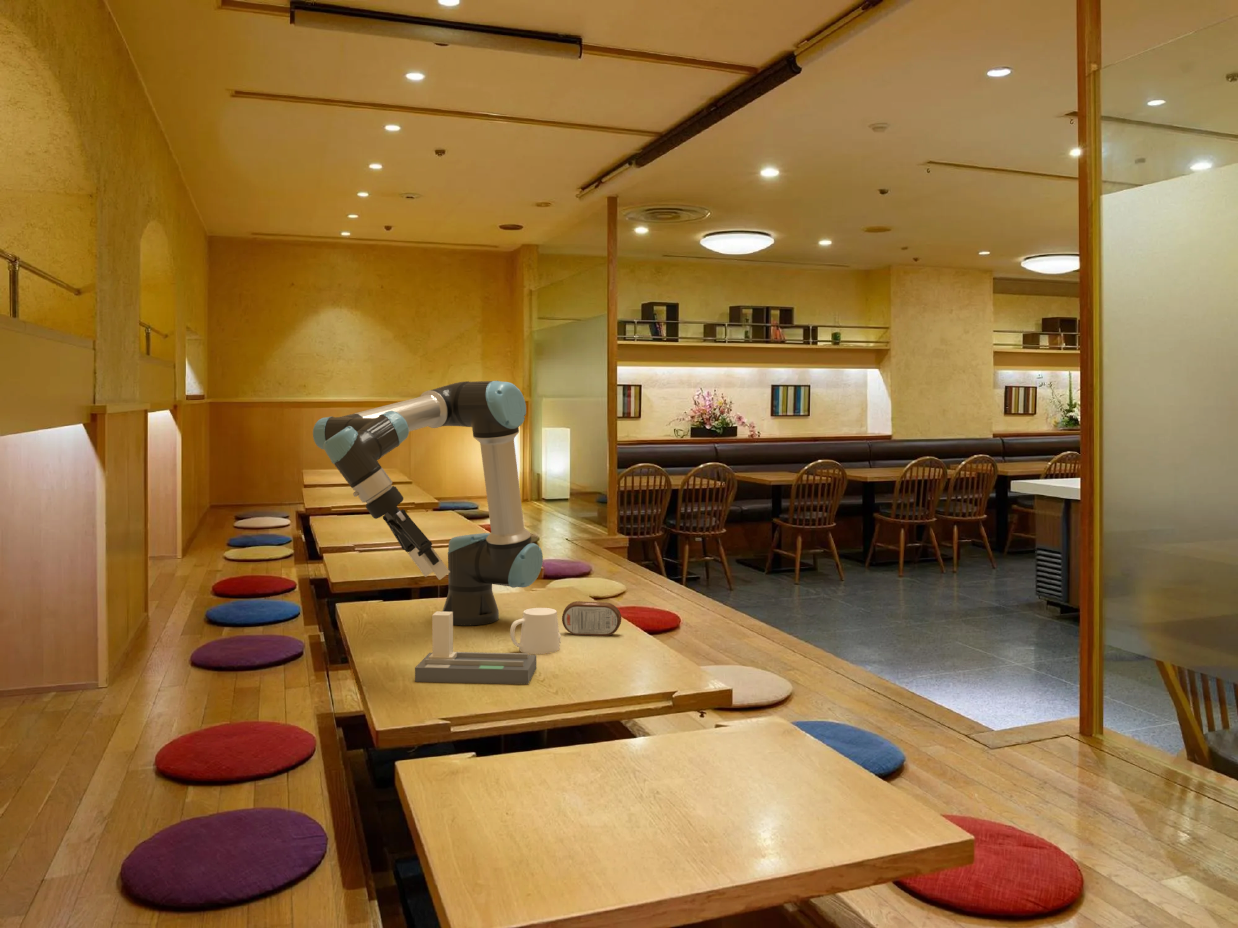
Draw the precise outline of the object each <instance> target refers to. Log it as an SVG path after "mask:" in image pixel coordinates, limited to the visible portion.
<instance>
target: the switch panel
mask: <svg viewBox="0 0 1238 928" xmlns="http://www.w3.org/2000/svg"><path fill="white" fill-rule="evenodd" d="M456 652H457V657H456V658H455V659H429V656H430V655H431V654H432V653H433V651H432V652H429V653H427V655H425V657H423V659H422V660H421V661H420V662H418V664H417V665H416V666H415V667H414V683H416V682H417V683H419V682H420V683H455V684H456V683H457V684H492V685H494V684H499V685H505V684H506V685H510V684H511V685H529V684H530V682H531V679H532V677H533V676H534V674H535V672H536V670H537V654H528V653H522V652H518V653H517V652H482V651H481V652H477V651H474V652H473V651H456ZM529 681H530V682H529ZM528 683H529V684H528Z"/></svg>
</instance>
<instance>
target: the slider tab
mask: <svg viewBox="0 0 1238 928" xmlns="http://www.w3.org/2000/svg"><path fill="white" fill-rule="evenodd" d="M431 616H432V617H431V621H432V633H431V634H432V638H431V639H432V652H433V653H432V652H431V653H432V654H431V655H430V656H429V659H455V658H456V657H457V652H458V651H454V625H453V612H442V611H440V610H439V611H437V610H436V611H435V612H434V613H433V614H432V615H431Z"/></svg>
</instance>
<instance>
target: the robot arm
mask: <svg viewBox="0 0 1238 928" xmlns="http://www.w3.org/2000/svg"><path fill="white" fill-rule="evenodd" d="M526 404H527V403H526V401H525V397H524V395H523V393H522V391H521V390H520V388H518V387H517V386H516V385H515V384H514V383H512V382H510V381H509V382H508V381H500V380H485V381H484V380H483V381H479V380H478V381H469V380H468V381H459V382H454V383H450V384H447V385H443V386H440V387H437V388H434V389H429V390H426V391H423V392H422V393H421V394H420V396H418V397H415V398H411V399H406V400H402V401H399V402H394V403H391V404H386V405H382V406H379V407H378V406H377V407H375V408H370V409H366V410H363V411H359V412H355V413H352V414H347V415H342V416H338V417H337V416H336V417H334V416H326V417H322V418H320V419H318V420H317V421H316V422H315V424H314V426H313V428H312V438H313V442H314V443H315V445H316V447H318V448H319V449H321V450H323V451H324V452H325V453H326V455H327V456H328V458H329V459H330V462H331V463H332V464H333V465H334V466H335V468H336V469H337V470H338V471H339V473H340V474H341V476H342V477H343V478H344V480H345V481H346V482H347V483H348V485H349V486H350V488H351V489H352V490H353V491H354V492H353V493H352V496H354V497H358V499H359V500H360V501H361V502H362V503H366V504H365V509H366V510H367V511H368V512H369V514H370V515H371V517H372V518H373V519H375V520H376V519H379V518H382V519H383V520H384V522H385V523H386V525H387V526H388V527H389V529H390V531H391V533H392V534H393V535H394V537H395V539H396V540H397V542H398V544H399V546H400V547H401V549H402V550H404V551H405V552H406V553H407V554H408V556H409V557H410V558H411V560H412V561H413V563H414V564H415V565H416V567H417V568H418V569H419V570H420V572H421V574H422V575H423V576H424V577H425V578H427V577H428V576H429V575H431V574H432V573H434V575H435V576H436V578H437V579H438V580H440V581H441V580H442V579H443V578H445V577H446V576H447V575H448V579H447V580H448V593H447V596H446V599H445V602H444V606H443V608H442V611H441V612H453V626H454V625H455V626H479V625H480V626H481V625H487V624H491V623H495V622H497V621H498V620H499V616H500V615H499V613H500V611H499V607H498V604H497V601H496V598H495V596H494V592H493V585H496V586H503V587H510V588H513V589H514V588H528V587H530V586H531V585H532V584H533V583H534V582H535V581H536V580H537V578H538V577H539V575H540V573H541V570H542V567H543V560H544V559H543V557H544V556H543V555H544V554H543V550H542V548H541V547H540V545H538V544H537V543H534V542H532V533H531V531H529V530H528V529H526V528H525V524H524V523H525V522H524V517H523V506H522V497H521V488H520V481H519V471H518V464H517V462H518V461H517V453H516V447H515V446H516V445H515V437H517V435H518V434H519V432H520V429H519V427H521V426H522V425H523V424H524V421H525V419H526V418H525V416H526V415H527V405H526ZM426 427H428V428H431V429H439V428H441V427H442V428H443V427H461V428H463V427H465V428H471V430H472V437H473V438H474V439H475V440H477V441H478V442H479V445H480V452H481V460H482V468H483V476H484V484H485V486H484V487H485V493H486V501H487V508H488V516H489V524H490V525H489V526H490V532H487V533H486V532H484V533H483V532H482V533H473V534H465V535H457V536H454V537H452V538H451V539H450V540H448V551H447V565H446V564H445V563H444V562H443V560H442V559H441V557H440V555H438V553H437V551H435V549H434V548H433V542H432V541H430V539H429V538H428V537H427V536H426V535H425V534H424V532H423V531H422V530H421V529H420V528H419V527H418V525H417V524H416V523H415V522H414V521H413V519H411V517H410V515H408V513H407V512H406V510H405V509H404V508H402V509H400V508H398V506H399V505H400V504H401V503H402V502H404V496H403V495H402V493H401V491H399V489H398V488H397V486H394V485H392V484H393V481H392V479H391V478H390V476H389V475H388V474H387V472H386V471H385V470H384V468H383V467H382V466H381V464H380V463H379V460H380V459H381V458H383V457H385V455H387V454H389V453H390V452H392V451H393V450H394V449H396V448H398V447H400V444H402V443H403V442H404V441H405V440H407V438H408V437H409V434H410V432H412V431H416V430H420V429H423V428H426ZM447 566H448V567H447Z"/></svg>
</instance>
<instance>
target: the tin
mask: <svg viewBox="0 0 1238 928" xmlns="http://www.w3.org/2000/svg"><path fill="white" fill-rule="evenodd" d="M561 620H562V621H561V623H562V625H563V627H564V629H565V630H566V631H567V632H568V633H570V634H571V635H575V636H587V635H588V636H592V637H593V636H595V637H610V636H611V635H613V634H615V632H617V631H618V630H619V627H620V626H621V624H622V614H621V612H620V609H619V608H618V607H617V606H616V605H614V604H613V603H611V602H604V601H603V602H602V601H583V600H582V601H581V600H579V601H578V600H577V601H573V602H571V603H569V604H567V605H566V606H565V608H564V610H563V613H562V615H561Z"/></svg>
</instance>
